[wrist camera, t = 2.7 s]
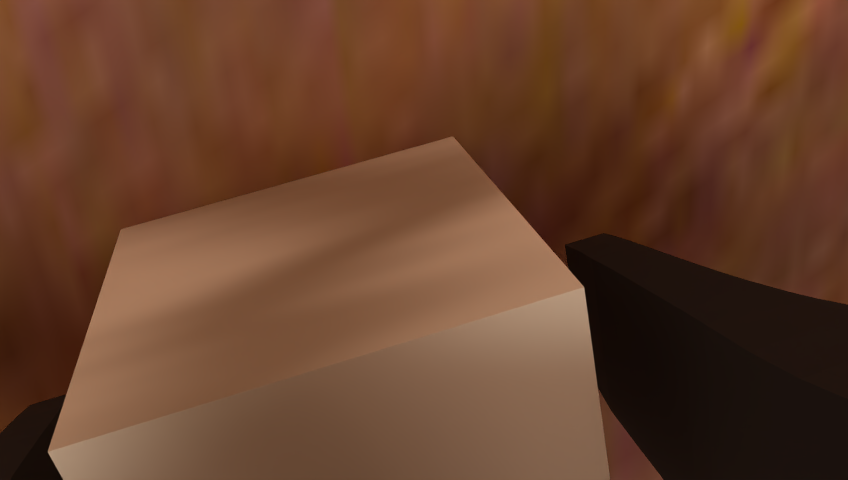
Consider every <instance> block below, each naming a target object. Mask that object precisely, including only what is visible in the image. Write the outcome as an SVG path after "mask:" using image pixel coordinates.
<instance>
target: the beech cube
mask: <svg viewBox="0 0 848 480" xmlns="http://www.w3.org/2000/svg"><path fill="white" fill-rule="evenodd" d="M48 454H49V455H50V457H51V459H52V461H53V462H54V464H55V466H56V468H57V469H58V471H59V473H60V475H61V477H62V478H63V480H610V475H609V467H608V460H607V452H606V445H605V438H604V430H603V423H602V415H601V408H600V401H599V393H598V386H597V378H596V371H595V364H594V356H593V349H592V341H591V334H590V327H589V319H588V312H587V304H586V297H585V290H584V286H583V285H582V284H581V283H580V282H579V281H578V279H577V278H576V277H575V276H574V275H573V274H572V273H571V271H570V270H569V269H568V268H567V267H566V266H565V265H564V263H563V262H562V261H561V260H560V259H559V258H558V256H557V255H556V254H555V253H554V252H553V251H552V250H551V248H550V247H549V246H548V245H547V244H546V243H545V242H544V240H543V239H542V238H541V237H540V236H539V235H538V233H537V232H536V231H535V230H534V229H533V228H532V227H531V225H530V224H529V223H528V222H527V221H526V220H525V219H524V217H523V216H522V215H521V214H520V213H519V212H518V210H517V209H516V208H515V207H514V206H513V205H512V204H511V202H510V201H509V200H508V199H507V198H506V197H505V196H504V194H503V193H502V192H501V191H500V190H499V189H498V187H497V186H496V185H495V184H494V183H493V182H492V181H491V179H490V178H489V177H488V176H487V175H486V174H485V173H484V171H483V170H482V169H481V168H480V167H479V166H478V165H477V163H476V162H475V161H474V160H473V159H472V158H471V156H470V155H469V154H468V153H467V152H466V151H465V150H464V148H463V147H462V146H461V145H460V144H459V143H458V142H457V140H456V139H455V138H454V137H453V136H452V137H449V138H445V139H442V140H438V141H434V142H431V143H427V144H424V145H420V146H417V147H413V148H409V149H406V150H402V151H399V152H395V153H392V154H388V155H384V156H381V157H377V158H374V159H370V160H366V161H363V162H359V163H356V164H352V165H349V166H345V167H341V168H338V169H334V170H331V171H327V172H324V173H320V174H316V175H313V176H309V177H306V178H302V179H299V180H295V181H291V182H288V183H284V184H281V185H277V186H274V187H270V188H266V189H263V190H259V191H256V192H252V193H249V194H245V195H241V196H238V197H234V198H231V199H227V200H224V201H220V202H216V203H213V204H209V205H206V206H202V207H199V208H195V209H191V210H188V211H184V212H181V213H177V214H173V215H170V216H166V217H163V218H159V219H156V220H152V221H148V222H145V223H141V224H138V225H134V226H131V227H127V228H123V229H121V230H120V233H119V236H118V239H117V242H116V245H115V248H114V252H113V255H112V258H111V261H110V264H109V267H108V270H107V273H106V276H105V279H104V282H103V285H102V288H101V291H100V294H99V297H98V300H97V303H96V306H95V309H94V312H93V315H92V318H91V321H90V324H89V328H88V331H87V334H86V337H85V340H84V343H83V346H82V349H81V352H80V355H79V358H78V361H77V364H76V367H75V370H74V373H73V376H72V379H71V382H70V385H69V388H68V391H67V394H66V397H65V400H64V404H63V407H62V410H61V413H60V416H59V419H58V422H57V425H56V428H55V431H54V434H53V437H52V440H51V443H50V446H49V449H48Z"/></svg>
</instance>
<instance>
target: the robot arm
mask: <svg viewBox="0 0 848 480" xmlns="http://www.w3.org/2000/svg"><path fill="white" fill-rule="evenodd" d="M565 248H566V255H567V262H568V269H569V270H570V271H571V273H572V274H573V275H574V276H575V277H576V278H577V279H578V281H579V282H580V283H581V284H582V285H583V286H584V290H585V297H586V304H587V312H588V319H589V327H590V334H591V341H592V349H593V356H594V364H595V371H596V378H597V386H598V389H599V390H600V392H601V394H602V396H603V397H604V399H605V401H606V402H607V404H608V406H609V408H610V409H611V411H612V412H613V413H614V415H615V416H616V417H617V419H618V420H619V422H620V423H621V424H622V426H623V427H624V428H625V429H626V431H627V432H628V433H629V435H630V436H631V437H632V439H633V440H634V441H635V443H636V444H637V445H638V447H639V448H640V449H641V451H642V452H643V453H644V455H645V456H646V457H647V458H648V460H649V461H650V462H651V464H652V465H653V466H654V468H655V469H656V470H657V471H658V473H659V474H660V475H661V477H662V478H663V479H664V480H848V305H846V304H841V303H836V302H831V301H826V300H821V299H816V298H812V297H808V296H804V295H799V294H795V293H791V292H787V291H784V290H780V289H776V288H773V287H769V286H766V285H762V284H758V283H755V282H751V281H747V280H744V279H741V278H738V277H734V276H731V275H728V274H725V273H722V272H719V271H715V270H712V269H709V268H706V267H703V266H700V265H697V264H694V263H691V262H689V261H686V260H683V259H680V258H677V257H674V256H671V255H669V254H666V253H663V252H660V251H657V250H654V249H652V248H649V247H646V246H643V245H640V244H637V243H634V242H631V241H629V240H625V239H622V238H619V237H616V236H612V235H608V234H604V233H603V234H600V235H597V236H593V237H590V238H587V239H583V240H580V241H577V242H573V243H570V244H566V245H565ZM65 397H66V395H62V396H59V397H56V398H52V399H49V400H46V401H42V402H39V403H36V404H32V405H30V406H29V407H28V408H26V409H25V410H24V411H23V412H22V413H21V414H20V415H18V416H17V417H16V418H15V419H14V420H13V421H12V422H11V423H10V424H9V425H8V426H7V427H6V428H5V429H4V430H3V431H2V432H1V433H0V480H63V478H62V477H61V475H60V473H59V471H58V469H57V468H56V466H55V464H54V462H53V461H52V459H51V457H50V455H49V454H48V449H49V446H50V443H51V440H52V437H53V434H54V431H55V428H56V425H57V422H58V419H59V416H60V413H61V410H62V407H63V404H64V400H65Z"/></svg>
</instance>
